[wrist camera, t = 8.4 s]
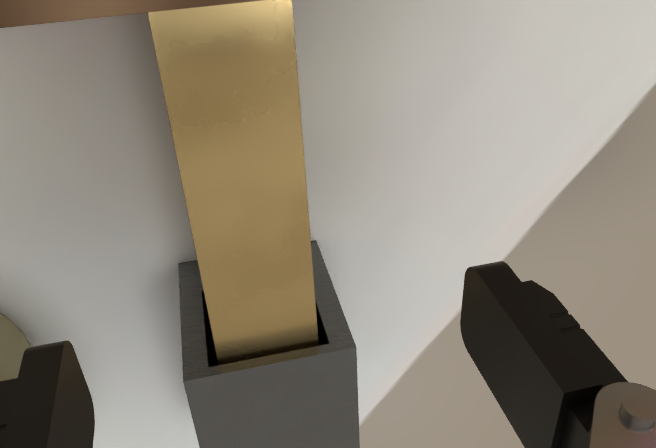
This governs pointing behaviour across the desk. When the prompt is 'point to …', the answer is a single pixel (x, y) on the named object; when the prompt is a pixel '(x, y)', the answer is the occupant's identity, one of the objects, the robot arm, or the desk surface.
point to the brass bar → (242, 170)
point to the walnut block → (89, 9)
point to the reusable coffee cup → (11, 349)
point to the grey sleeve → (271, 379)
